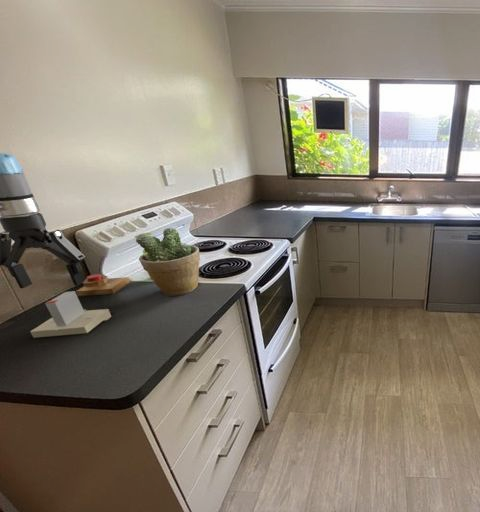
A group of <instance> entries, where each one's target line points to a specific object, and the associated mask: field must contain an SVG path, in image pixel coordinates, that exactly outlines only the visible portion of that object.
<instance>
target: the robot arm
mask: <svg viewBox="0 0 480 512" xmlns="http://www.w3.org/2000/svg"><path fill="white" fill-rule="evenodd" d="M40 211H41V209H40V207H39V205H38V203H37V200H36V198H35V195H34V194H33V192H32V190H31V187H30V185H29V183H28V180H27V178H26V176H25V173H24V169H23V168H22V166H21V165H20V163H19V161H18V160H17V158H16V156H15V155H13V154H11V153H4V152H3V153H2V152H0V225H1V227H2V229H3V231H0V266H3V267H4V268H7V270H8V273H9V274H10V276H11V277H12V278H14V279H15V281H16V283H17V285H18V287H19V288H20V289H24V288H27V287H29V286H32V285H33V282H32V280H31V278H30V276H29V274H28V272H27V270H26V269H25V267H24V263H21V262H20V260H21V258H22V257H23V255H24V253H25V251H26V250H27V249H31V248H32V249H42V250H46V251H47V252H49V253H51V254H52V255H54V256H55V257H57V258H58V259H60V260H62V261H64V262H65V263H67V264H66V265H65V268H66V270H67V271H68V274H69V276H70V278H71V280H72V283H73V285H74V286H79V285H81V284H83V282H84V281H85V280H86V279H85V277H84V276H83V267H82V265H81V263H80V262H82V261H84V260H85V259H86V258H87V257H86V256H85V255H84V254H83V252H81V251H80V250H79V249H78V248H77V247H76V246H75V245H74V244H73V243H72V242H71V241H70V240H69V239H68V238H67V237H66V236H65V235H64V233H63V231H62V230H61V229H56V230H51V231H48V229H46V226H47V223H46V221H45V218H44V216H43V214H42V213H41V212H40ZM12 241H14V242H12ZM12 243H13V244H12Z"/></svg>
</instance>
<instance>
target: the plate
mask: <svg viewBox="0 0 480 512" xmlns="http://www.w3.org/2000/svg"><path fill="white" fill-rule="evenodd" d="M83 310H84V312H85V313H84V314H82V315H81V316H80V317H78V318H77V319H75V320H74V321H72V322H71V323H70V324H68V325H67V326H57V325H56V323H55V321H54V320H53V318H52V317H50V318H49V319H47V320H46V321H45V322H43V323H41V324H39V325H38V326H37V327H35V328H33V329H32V330H30V331H29V332H30V334H31V336H32V338H33V339H36V338H45V337H57V336H58V337H59V336H71V335H80V334H88V333H89V332H91V331H92V330H93V329H94V328H96V327H97V326H98V325H100V323H102V322H103V321H108V320H110V318H111V317H112V315H111V312H110V310H109V309H108V308H105V309H104V308H103V309H91V310H90V309H89V310H87V309H86V308H85V309H83Z"/></svg>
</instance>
